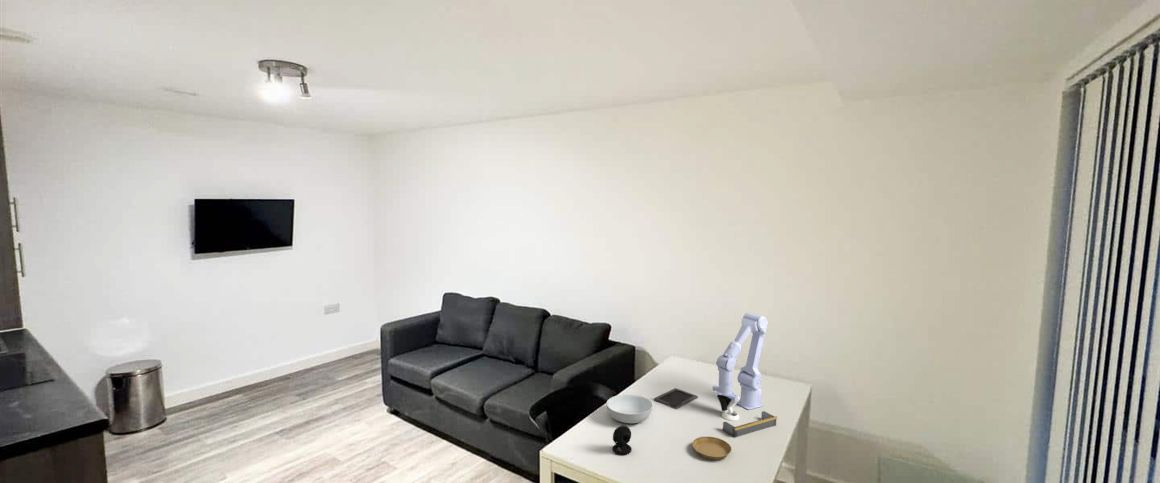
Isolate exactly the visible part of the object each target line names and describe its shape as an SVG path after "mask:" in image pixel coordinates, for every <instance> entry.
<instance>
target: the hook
mask: <svg viewBox="0 0 1160 483" xmlns="http://www.w3.org/2000/svg"><path fill="white" fill-rule="evenodd" d="M736 396H737V397H738V401H737V402H740V401H741V396H738V395H736ZM737 402H734V401H733V400H731V402H730V403H729V405H728V406H727V410H725V411H722V413H721V417H722V418H723V419H725V420H728V421H732V422H733V421H738V420H740V415H739V413H738V412H737V411H734V407H735V405H738V404H737ZM728 414H730V415H728Z"/></svg>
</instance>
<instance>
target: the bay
mask: <svg viewBox="0 0 1160 483" xmlns="http://www.w3.org/2000/svg"><path fill="white" fill-rule="evenodd" d="M777 420H778V416H775V415H772V414H770V413H769V412H767V411H765V410H763V411H761V417H760V419H758V420H754V421H751V422H748V423H745V424H741V425H738V426H734V425H732V424H731V423H729V422H727V421H723V422H722V431H724V432H725V433H726V434H728V435H729V436H731V437H734V438H738V437H741V436H744V435H747V434H751V433H755V432H757V431H758V432H759V431H763V430H764V429H768V428H772V427H775V426H777Z"/></svg>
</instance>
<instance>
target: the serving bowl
mask: <svg viewBox="0 0 1160 483" xmlns="http://www.w3.org/2000/svg"><path fill="white" fill-rule="evenodd" d="M605 404H606V410H607V412H608V414H609V416H610V417H612V419H614V420H615V421H617V422H621V423H623V424H637V423H641V422H643V421H646V420H647V419H648V418H649V417H650V416H651V414H652V411H653V406H654V404H653V402H652V401H651V400H650V399H649V398H647V397H645V396H641V395H637V394H617V395H615V396H612V397H610V398H609V399H607V401H606V403H605Z"/></svg>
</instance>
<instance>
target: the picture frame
mask: <svg viewBox="0 0 1160 483" xmlns="http://www.w3.org/2000/svg"><path fill="white" fill-rule="evenodd" d="M698 398H699V396H698V395H696V394H693V393H692V392H687V391H686V390H682V389H679V388H676V387H675V388H673V389H671V390H668V391H666V392H664V393H661V394H660V395H658V396H656V397H654V398H653V401H655V402H657V403H660V404H662V405H665V406H667V407H670V408H673V409H675V410H678V409H679V408H681V407H683V406H685V405H687V404H689V403H691V402H693V401H696V400H697V399H698Z"/></svg>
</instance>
